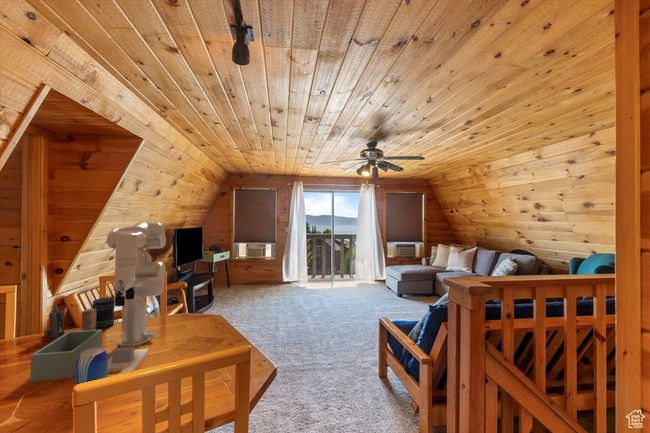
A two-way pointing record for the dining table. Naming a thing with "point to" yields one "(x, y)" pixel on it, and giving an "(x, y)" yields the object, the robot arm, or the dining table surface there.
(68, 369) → the toolbox
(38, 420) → the dining table surface
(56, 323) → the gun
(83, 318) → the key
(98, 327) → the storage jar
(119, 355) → the lid
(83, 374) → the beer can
